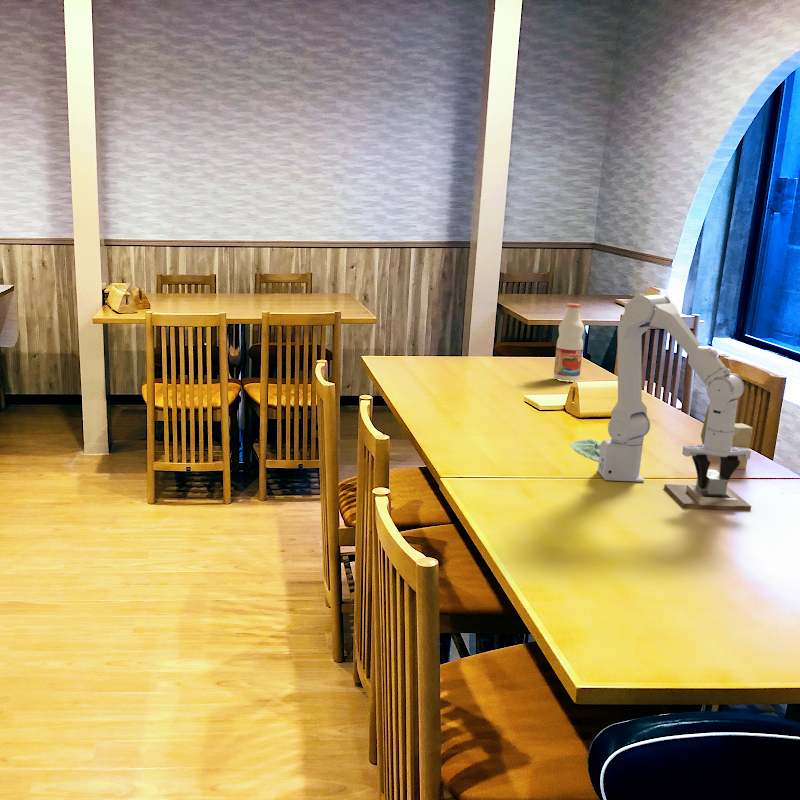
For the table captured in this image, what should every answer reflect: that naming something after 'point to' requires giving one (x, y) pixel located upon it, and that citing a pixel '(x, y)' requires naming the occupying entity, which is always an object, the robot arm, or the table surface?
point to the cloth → (587, 448)
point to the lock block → (713, 485)
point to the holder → (705, 498)
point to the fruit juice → (569, 345)
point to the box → (741, 440)
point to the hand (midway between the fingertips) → (711, 487)
